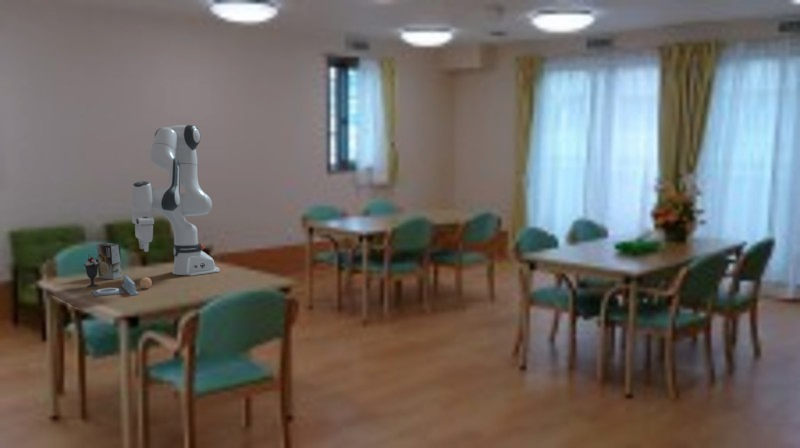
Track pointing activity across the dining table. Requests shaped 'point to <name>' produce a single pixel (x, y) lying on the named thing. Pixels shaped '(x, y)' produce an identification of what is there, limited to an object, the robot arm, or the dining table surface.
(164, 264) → the dining table surface
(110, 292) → the mat
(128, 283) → the low wall
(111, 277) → the coffee box
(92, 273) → the sundae
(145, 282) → the ball
